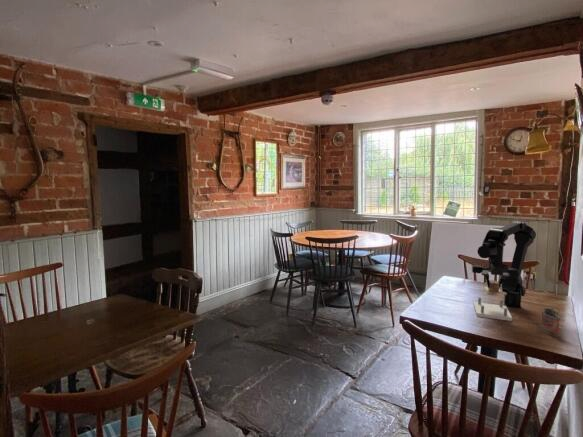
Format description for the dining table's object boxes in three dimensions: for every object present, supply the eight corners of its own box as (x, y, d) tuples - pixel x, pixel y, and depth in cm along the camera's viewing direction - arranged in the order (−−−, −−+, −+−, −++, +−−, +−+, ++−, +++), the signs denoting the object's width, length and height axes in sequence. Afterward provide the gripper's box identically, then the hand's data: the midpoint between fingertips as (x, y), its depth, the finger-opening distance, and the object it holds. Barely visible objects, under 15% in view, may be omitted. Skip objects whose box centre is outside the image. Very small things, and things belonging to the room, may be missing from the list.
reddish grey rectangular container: (537, 328, 150) (539, 305, 149) (544, 327, 150) (547, 305, 149) (553, 336, 142) (555, 312, 141) (560, 336, 142) (563, 312, 141)
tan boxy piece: (498, 290, 169) (499, 279, 168) (502, 296, 160) (503, 285, 160) (484, 289, 171) (485, 278, 170) (487, 294, 163) (488, 283, 162)
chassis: (505, 308, 171) (506, 299, 171) (511, 321, 157) (512, 311, 156) (473, 304, 177) (474, 296, 176) (476, 316, 162) (477, 306, 162)
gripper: (474, 257, 160) (472, 291, 162) (523, 261, 153) (520, 296, 155) (472, 252, 170) (470, 284, 172) (517, 256, 163) (515, 289, 165)
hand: (493, 288), depth 165 cm, fingers closed on tan boxy piece, 4 cm apart
